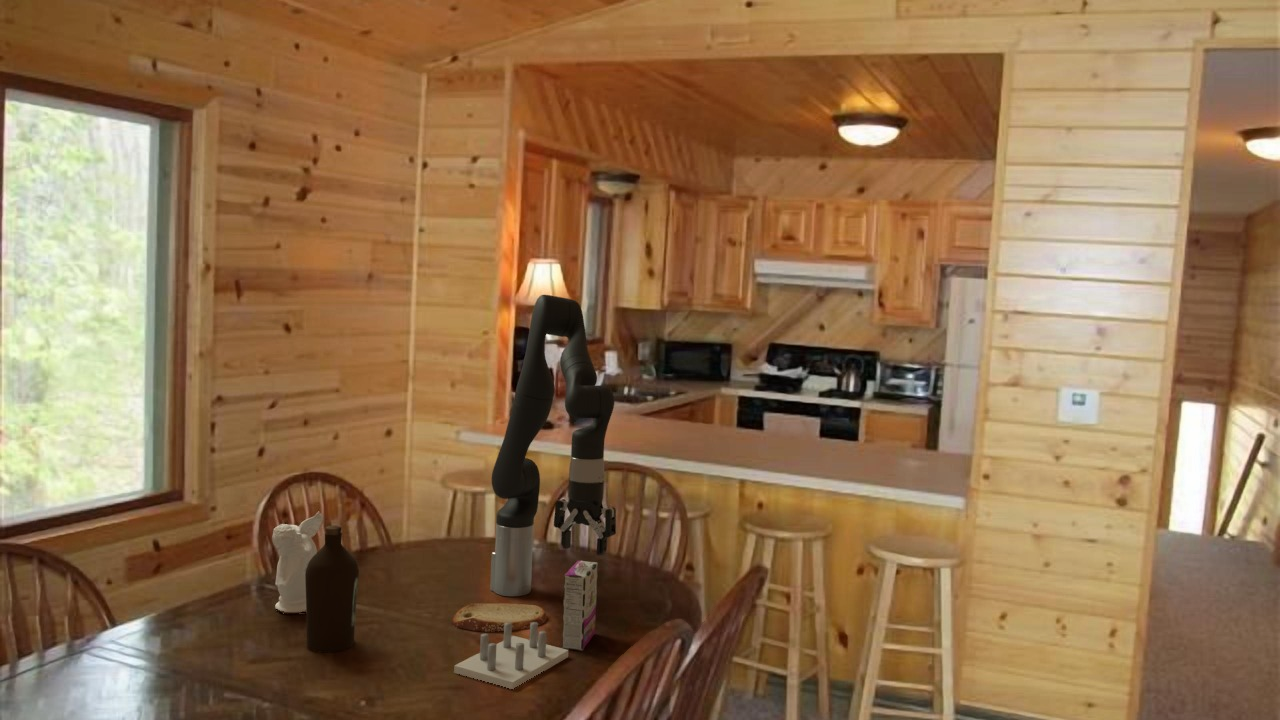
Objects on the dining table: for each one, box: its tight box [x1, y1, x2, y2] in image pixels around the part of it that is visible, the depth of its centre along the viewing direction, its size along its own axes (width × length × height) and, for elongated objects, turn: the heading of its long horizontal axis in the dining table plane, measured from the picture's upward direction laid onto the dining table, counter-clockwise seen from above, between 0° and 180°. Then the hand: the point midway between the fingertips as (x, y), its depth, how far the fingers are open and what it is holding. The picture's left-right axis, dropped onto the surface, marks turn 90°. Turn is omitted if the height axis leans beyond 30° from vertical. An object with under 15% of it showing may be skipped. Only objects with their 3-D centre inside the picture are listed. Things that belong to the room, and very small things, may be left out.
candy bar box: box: [561, 560, 599, 652], centre depth 217 cm, size 11×5×16 cm, turn 168°
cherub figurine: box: [271, 510, 324, 612], centre depth 229 cm, size 12×12×22 cm
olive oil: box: [305, 524, 360, 653], centre depth 207 cm, size 11×11×25 cm
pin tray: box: [453, 622, 569, 690], centre depth 202 cm, size 14×20×6 cm
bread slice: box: [450, 602, 548, 633], centre depth 227 cm, size 18×18×4 cm
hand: (583, 551), depth 216 cm, fingers open, 8 cm apart
